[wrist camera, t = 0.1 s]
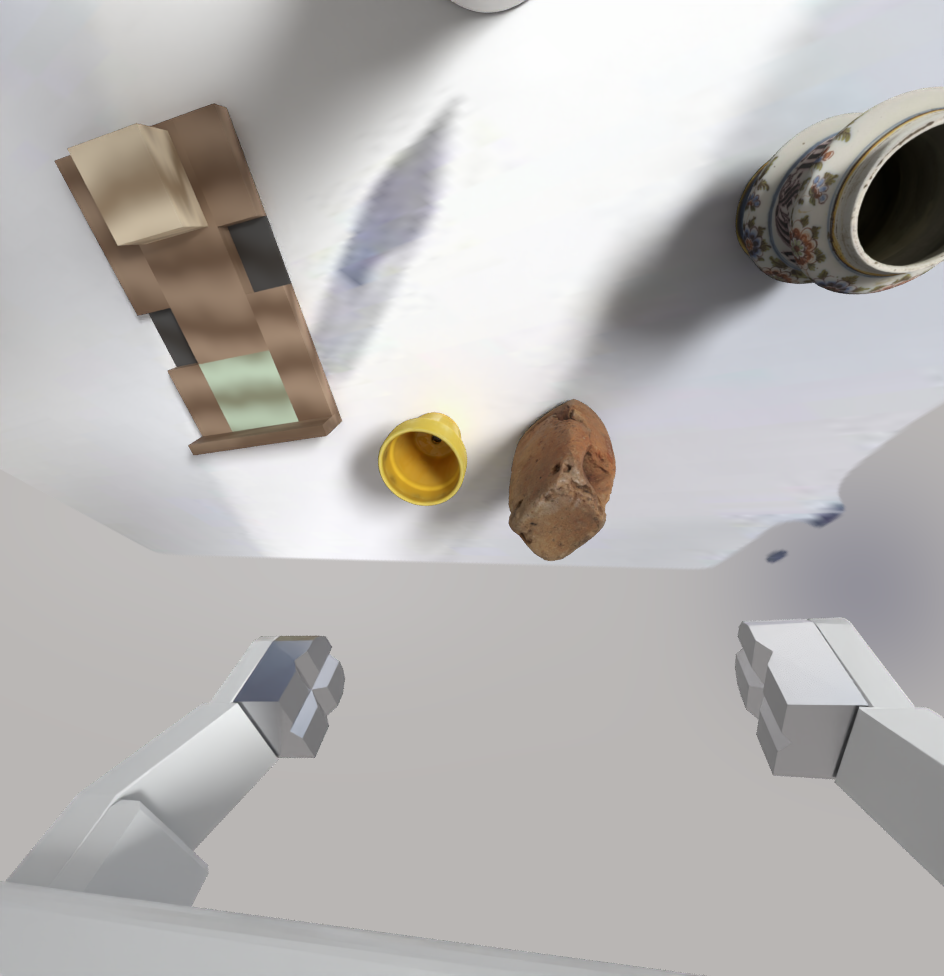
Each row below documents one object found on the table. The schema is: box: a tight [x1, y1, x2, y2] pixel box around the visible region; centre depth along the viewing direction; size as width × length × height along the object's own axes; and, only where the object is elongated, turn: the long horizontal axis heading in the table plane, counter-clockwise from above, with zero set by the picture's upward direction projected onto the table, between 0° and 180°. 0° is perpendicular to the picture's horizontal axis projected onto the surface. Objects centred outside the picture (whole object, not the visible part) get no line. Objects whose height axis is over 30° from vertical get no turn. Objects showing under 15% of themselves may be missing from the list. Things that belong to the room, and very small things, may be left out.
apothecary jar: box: [736, 87, 944, 294], centre depth 35 cm, size 12×12×18 cm
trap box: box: [55, 104, 342, 455], centre depth 53 cm, size 34×20×5 cm, turn 12°
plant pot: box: [378, 412, 467, 506], centre depth 56 cm, size 10×10×10 cm
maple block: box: [67, 123, 208, 246], centre depth 46 cm, size 8×8×4 cm
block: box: [509, 399, 616, 561], centre depth 49 cm, size 11×8×20 cm
